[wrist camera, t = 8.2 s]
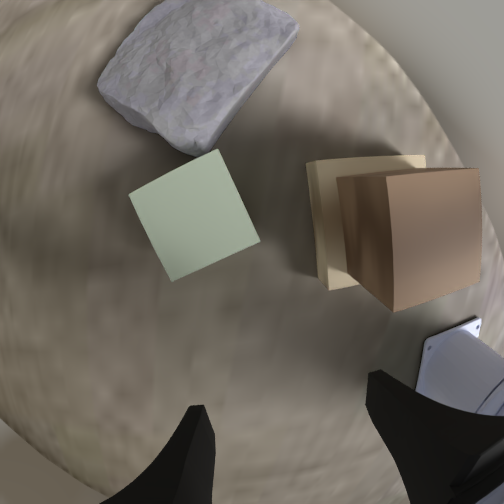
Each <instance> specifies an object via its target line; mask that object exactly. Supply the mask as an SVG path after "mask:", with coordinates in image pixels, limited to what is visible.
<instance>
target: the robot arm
mask: <svg viewBox="0 0 504 504" xmlns="http://www.w3.org/2000/svg"><path fill="white" fill-rule="evenodd" d="M480 326H481V318H479V317H477V318H475V319H473V320H471V321H468V322H466V323H464V324H462V325H459V326H457V327H454V328H452V329H450V330H447V331H445V332H442V333H440V334H437V335H434V336H432V337H429V338H427V339H426V341H425V343H424V348H423V354H422V360H421V366H420V371H419V376H418V381H417V386H416V390H413V389H411V388H409V387H408V386H406V385H405V384H403V383H401V382H400V381H398V380H397V379H395V378H393V377H392V376H390V375H389V374H387V373H386V372H384V371H382V370H381V369H380V370H377V371H374V372H371V373H368V384H367V395H366V404H365V405H366V408H367V410H368V413H369V415H370V417H371V420H372V422H373V424H374V426H375V427H376V429H377V431H378V433H379V434H380V436H381V438H382V439H383V441H384V443H385V444H386V446H387V448H388V450H389V451H390V453H391V455H392V457H393V458H394V460H395V462H396V465H397V467H398V470H399V472H400V475H401V477H402V480H403V483H404V485H405V488H406V491H407V494H408V497H409V500H410V504H504V358H503V357H502V356H501V355H499V354H498V353H497V352H496V351H494V350H493V349H492V348H490V347H489V346H488V345H486V344H485V343H484V342H482V341H481V340H480V339H478V335H479V331H480ZM215 454H216V451H215V433H214V431H213V428H212V425H211V423H210V420H209V417H208V415H207V412H206V409H205V407H204V405H193V406H189V408H188V409H187V411H186V413H185V415H184V417H183V418H182V420H181V422H180V424H179V425H178V427H177V429H176V430H175V432H174V433H173V435H172V436H171V438H170V440H169V441H168V443H167V444H166V445H165V447H164V448H163V449H162V451H161V452H160V453H159V455H158V456H157V457H156V458H155V460H154V461H153V462H152V463H151V464H150V465H149V466H148V467H147V468H146V469H145V470H144V471H143V472H142V473H141V474H140V475H139V476H138V477H137V478H136V479H135V480H134V481H133V482H131V483H130V484H129V485H128V486H126V487H125V488H124V489H122V490H121V491H119V492H118V493H117V494H115V495H114V496H112V497H110V498H109V499H107V500H105V501H103V502H101V503H100V504H212V487H213V477H214V466H215Z"/></svg>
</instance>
